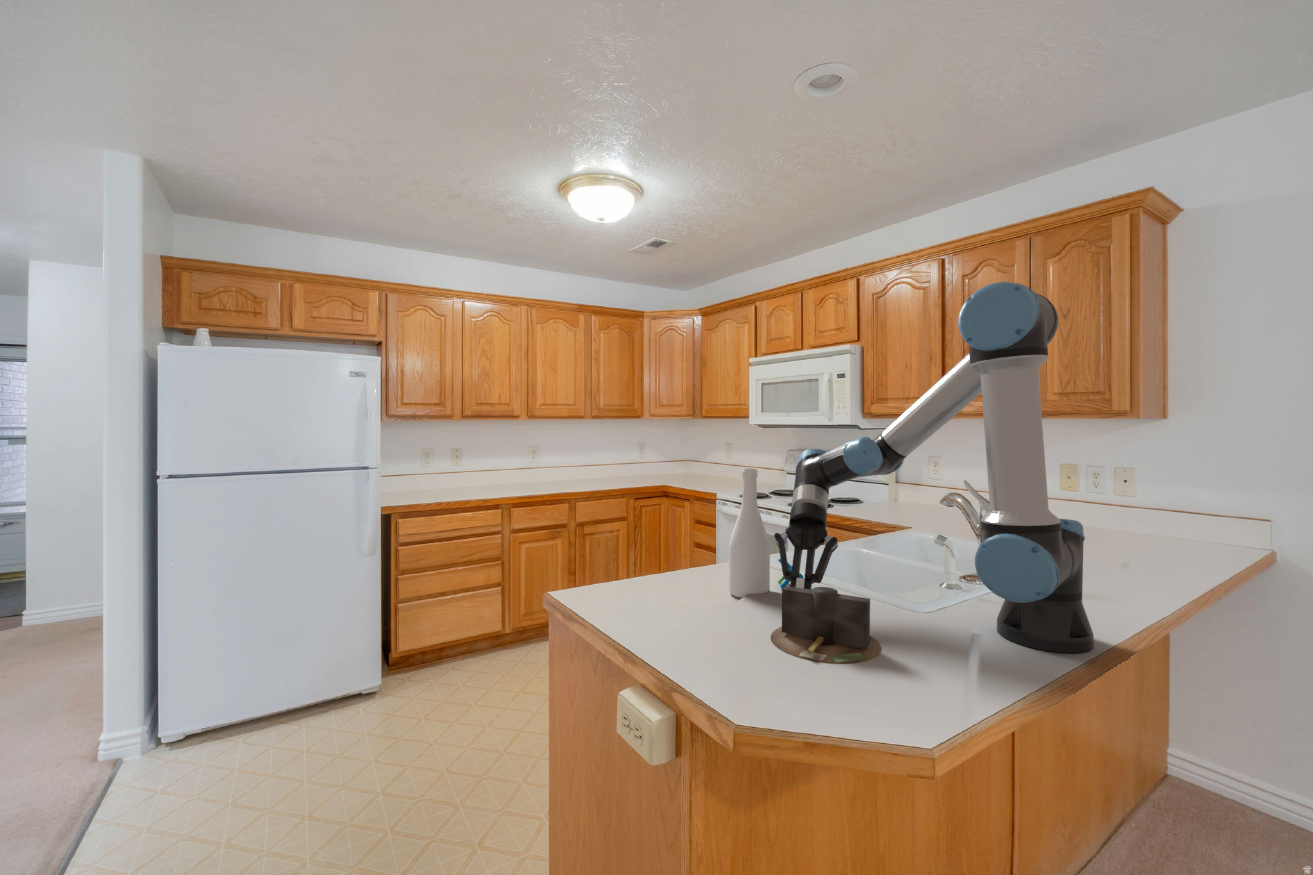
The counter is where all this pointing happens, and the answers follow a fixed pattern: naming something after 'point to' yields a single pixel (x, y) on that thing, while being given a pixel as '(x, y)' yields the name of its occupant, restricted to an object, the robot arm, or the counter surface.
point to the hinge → (826, 616)
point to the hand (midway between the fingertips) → (797, 612)
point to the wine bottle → (749, 544)
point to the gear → (787, 580)
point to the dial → (824, 649)
